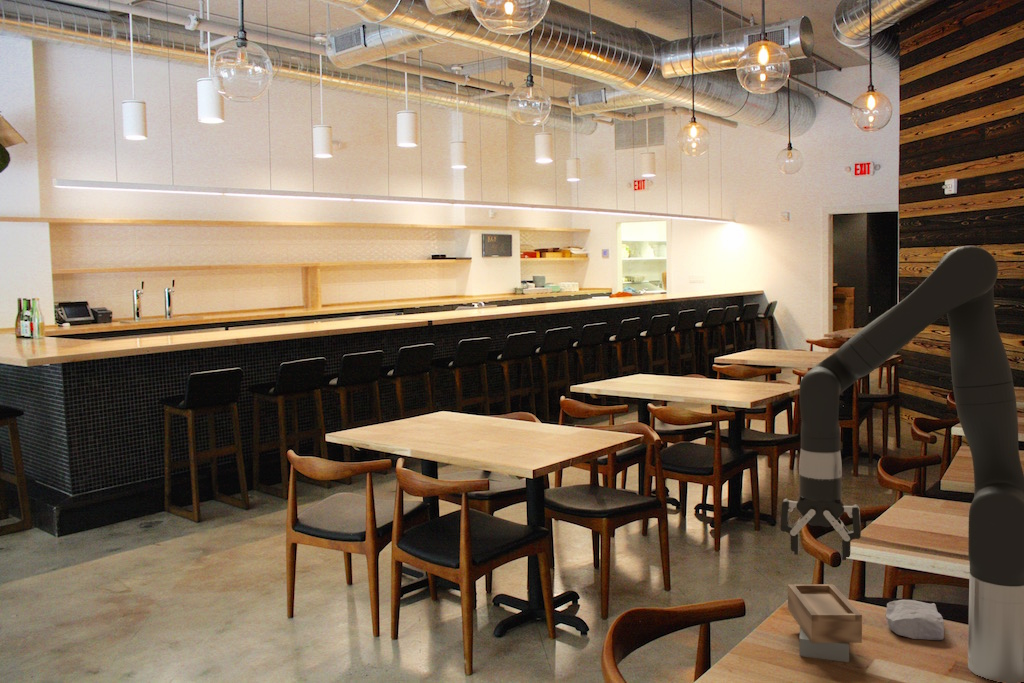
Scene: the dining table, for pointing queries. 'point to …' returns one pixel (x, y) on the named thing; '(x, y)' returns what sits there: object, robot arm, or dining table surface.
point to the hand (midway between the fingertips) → (820, 556)
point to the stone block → (915, 619)
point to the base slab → (823, 649)
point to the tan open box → (824, 613)
